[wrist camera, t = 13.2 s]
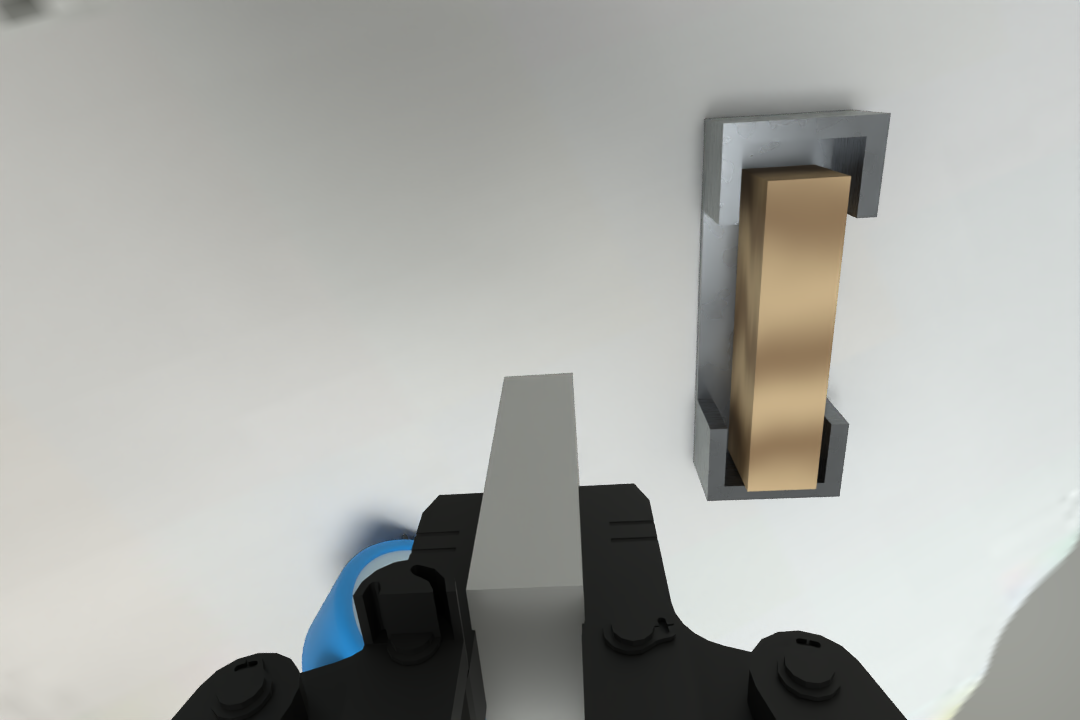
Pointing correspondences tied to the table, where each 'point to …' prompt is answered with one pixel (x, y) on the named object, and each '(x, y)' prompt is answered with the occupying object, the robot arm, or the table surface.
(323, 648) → the alarm clock
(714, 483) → the gray cradle tray
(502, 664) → the robot arm
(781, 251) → the long wooden block
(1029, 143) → the table surface
